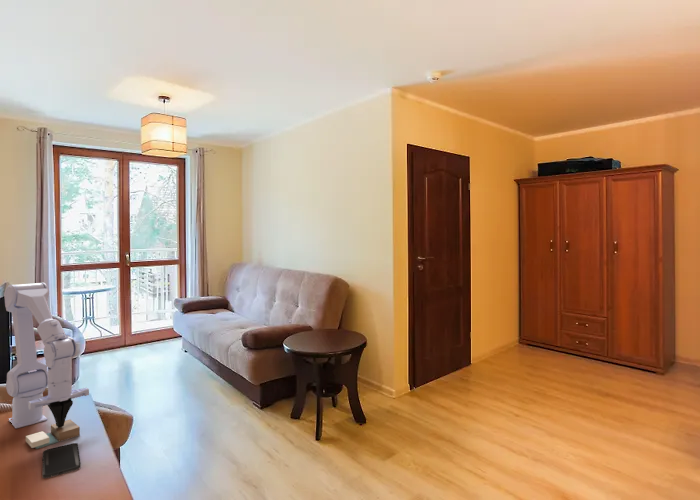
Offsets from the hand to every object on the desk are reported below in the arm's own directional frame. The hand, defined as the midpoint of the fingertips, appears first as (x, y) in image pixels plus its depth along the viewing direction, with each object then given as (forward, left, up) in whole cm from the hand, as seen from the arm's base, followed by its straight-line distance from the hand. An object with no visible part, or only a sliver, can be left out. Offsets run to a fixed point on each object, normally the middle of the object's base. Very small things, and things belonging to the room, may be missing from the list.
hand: (60, 425), depth 118 cm
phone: (+16, -4, -4) cm, 17 cm away
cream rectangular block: (0, -5, -1) cm, 6 cm away
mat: (0, -4, -3) cm, 5 cm away
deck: (0, +1, -3) cm, 3 cm away
